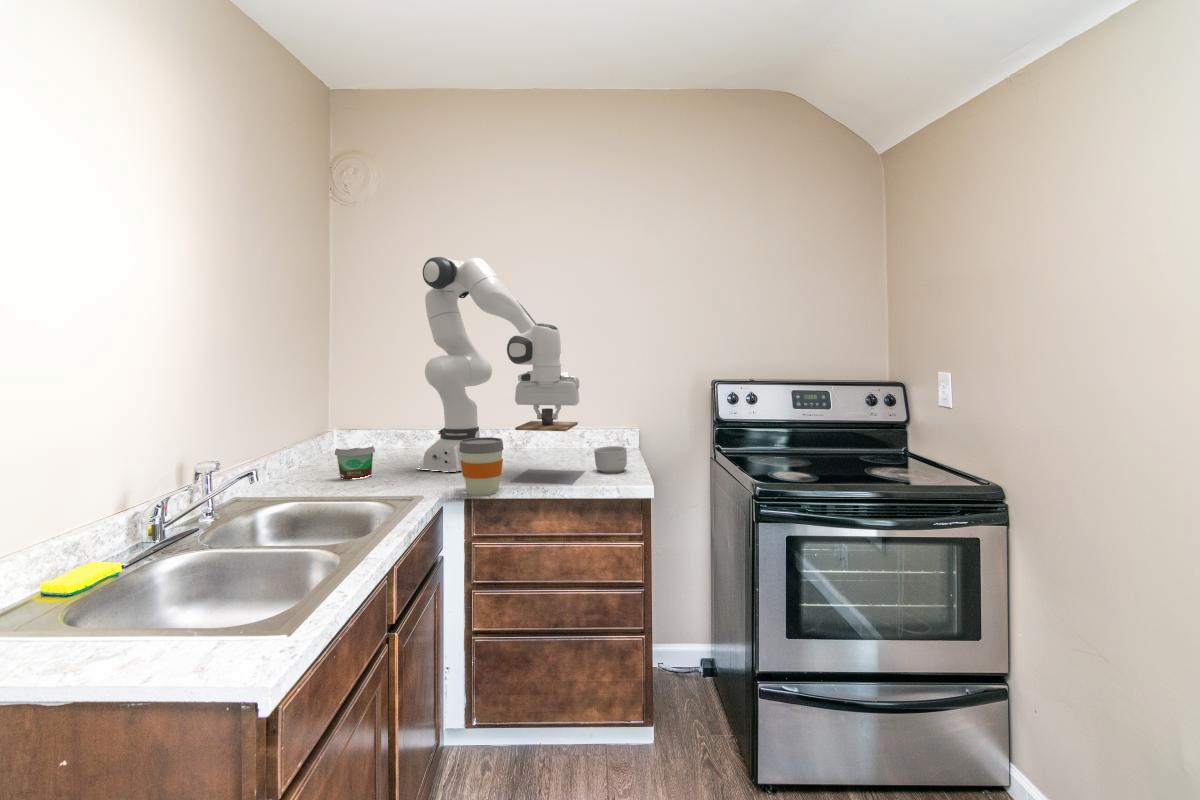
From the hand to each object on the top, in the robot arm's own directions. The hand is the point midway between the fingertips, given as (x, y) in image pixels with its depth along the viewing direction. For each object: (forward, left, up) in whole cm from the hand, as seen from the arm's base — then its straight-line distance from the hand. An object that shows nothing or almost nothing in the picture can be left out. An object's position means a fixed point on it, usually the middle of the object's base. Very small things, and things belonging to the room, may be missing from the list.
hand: (547, 419), depth 195 cm
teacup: (+18, +13, -19) cm, 29 cm away
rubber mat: (0, 0, -19) cm, 19 cm away
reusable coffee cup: (-14, -21, -19) cm, 32 cm away
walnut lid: (0, 0, -3) cm, 2 cm away
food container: (-61, -10, -19) cm, 65 cm away
